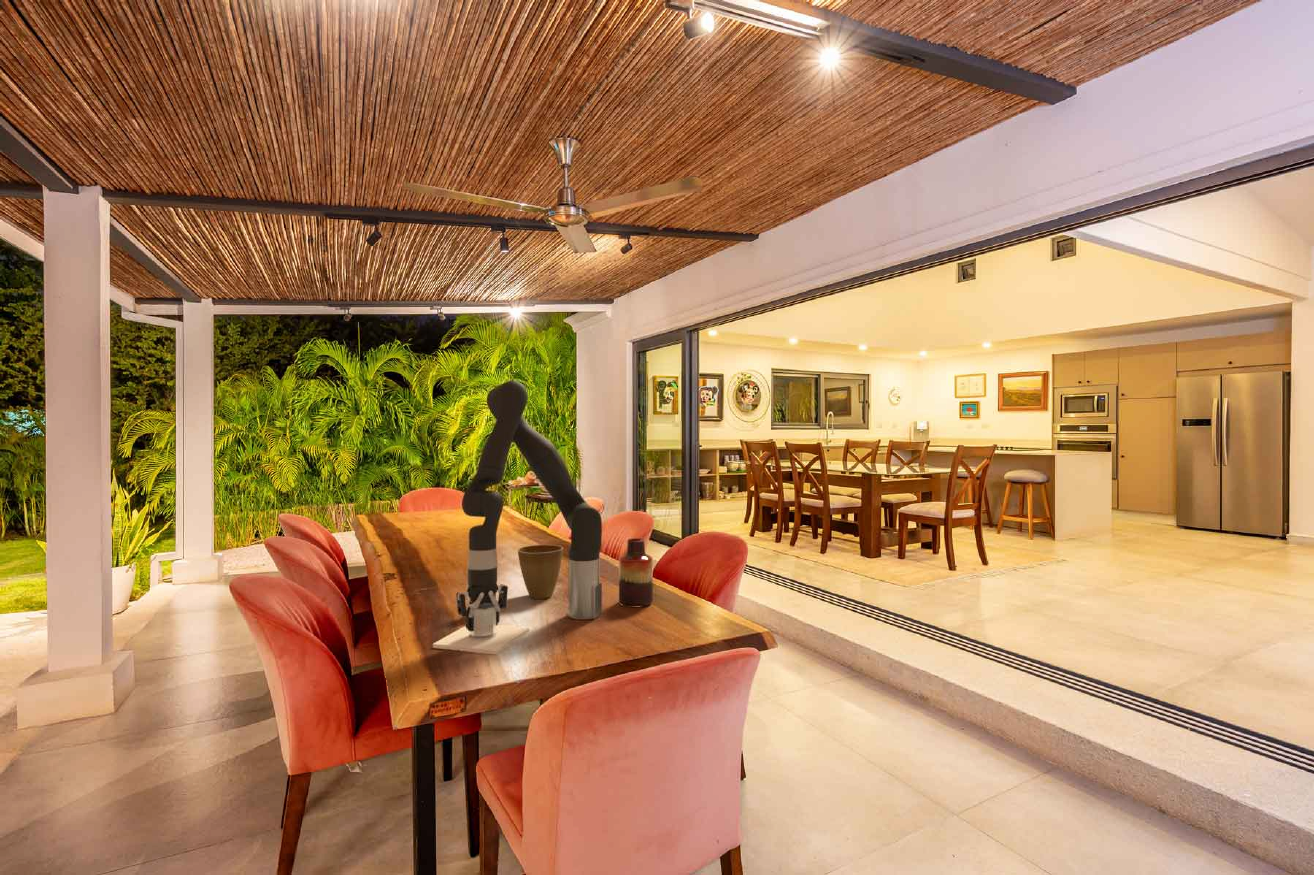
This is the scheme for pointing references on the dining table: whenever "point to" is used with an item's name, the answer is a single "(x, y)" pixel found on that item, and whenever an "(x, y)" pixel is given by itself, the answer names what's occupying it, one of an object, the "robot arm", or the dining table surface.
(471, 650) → the duct flange
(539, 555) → the plant pot
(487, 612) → the collar
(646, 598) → the vase
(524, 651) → the dining table surface
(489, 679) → the dining table surface
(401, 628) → the dining table surface
